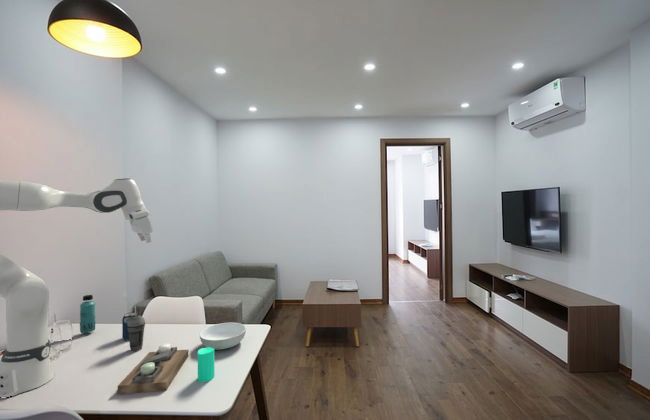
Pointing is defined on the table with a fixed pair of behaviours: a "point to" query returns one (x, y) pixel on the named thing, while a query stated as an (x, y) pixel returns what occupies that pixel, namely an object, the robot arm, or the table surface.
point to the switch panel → (154, 374)
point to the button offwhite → (164, 348)
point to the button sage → (147, 368)
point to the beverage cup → (136, 332)
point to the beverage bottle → (87, 315)
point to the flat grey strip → (157, 358)
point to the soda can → (124, 324)
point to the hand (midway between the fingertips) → (146, 241)
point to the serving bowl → (222, 335)
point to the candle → (205, 364)
